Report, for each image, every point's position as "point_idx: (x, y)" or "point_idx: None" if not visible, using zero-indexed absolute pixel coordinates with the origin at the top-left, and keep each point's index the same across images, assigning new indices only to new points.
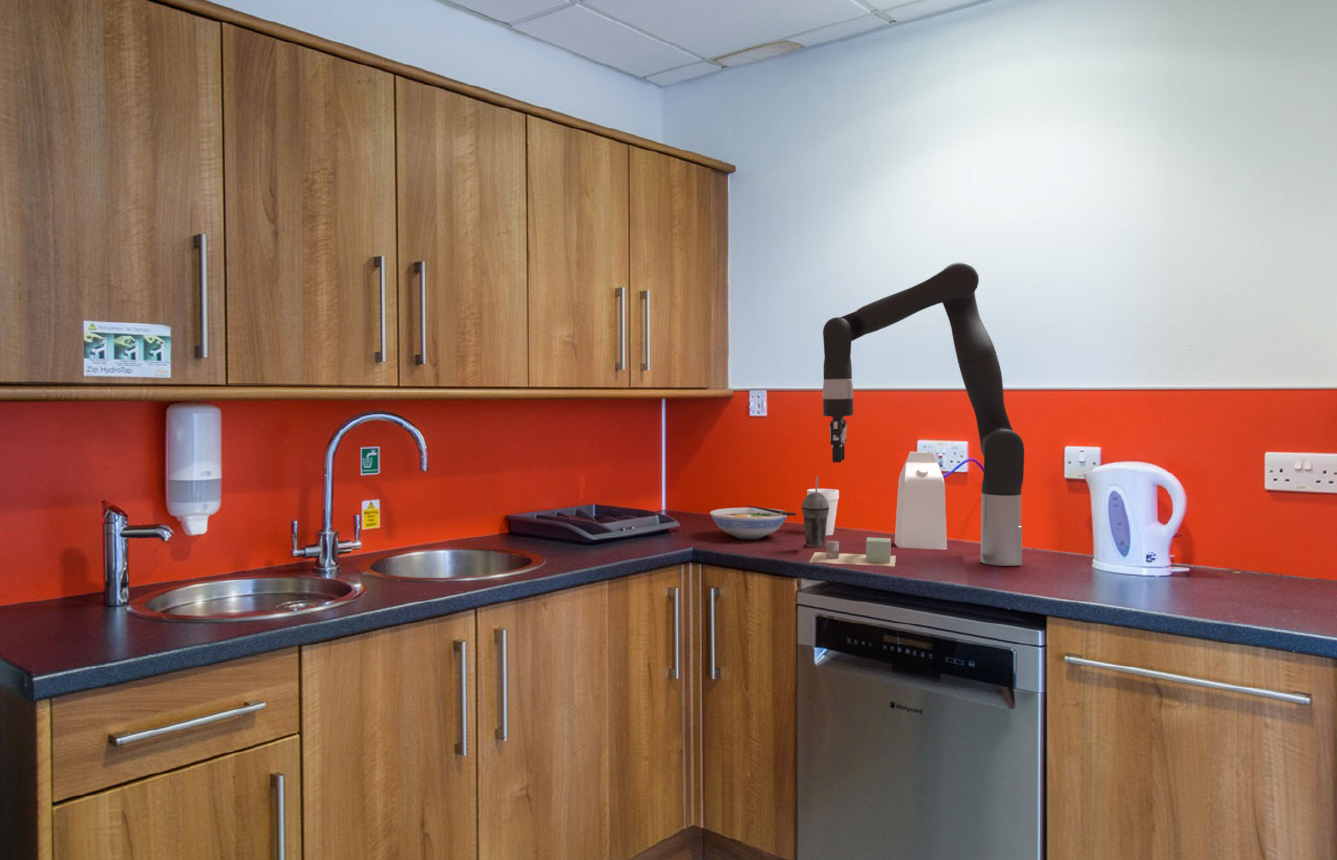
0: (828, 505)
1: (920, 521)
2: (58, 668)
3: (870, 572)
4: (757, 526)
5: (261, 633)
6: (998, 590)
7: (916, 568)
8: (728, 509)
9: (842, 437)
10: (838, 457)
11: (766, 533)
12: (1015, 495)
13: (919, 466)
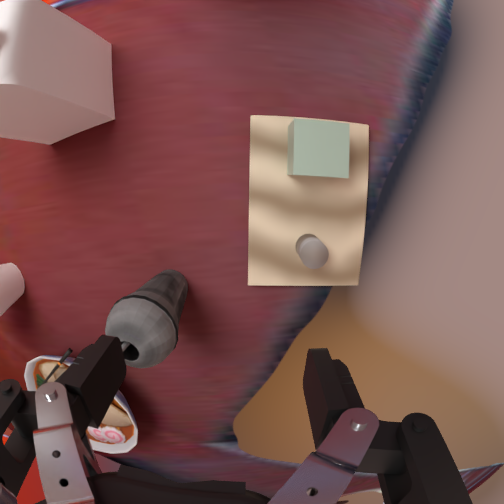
0: (133, 300)
1: (81, 69)
2: (500, 466)
3: (370, 170)
4: (121, 396)
5: (484, 466)
6: (431, 18)
7: (310, 83)
8: None
9: (354, 471)
10: (347, 374)
11: None
12: None
13: None
